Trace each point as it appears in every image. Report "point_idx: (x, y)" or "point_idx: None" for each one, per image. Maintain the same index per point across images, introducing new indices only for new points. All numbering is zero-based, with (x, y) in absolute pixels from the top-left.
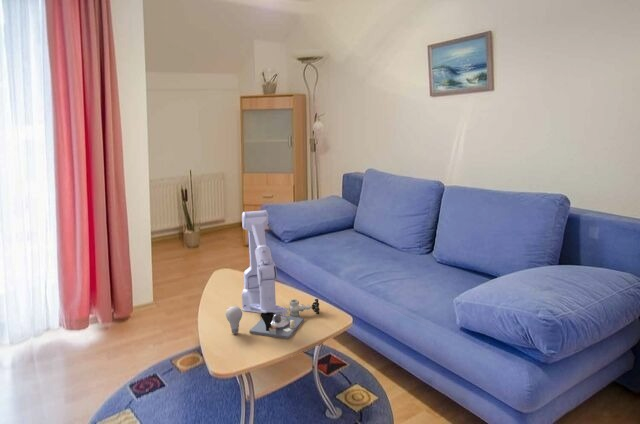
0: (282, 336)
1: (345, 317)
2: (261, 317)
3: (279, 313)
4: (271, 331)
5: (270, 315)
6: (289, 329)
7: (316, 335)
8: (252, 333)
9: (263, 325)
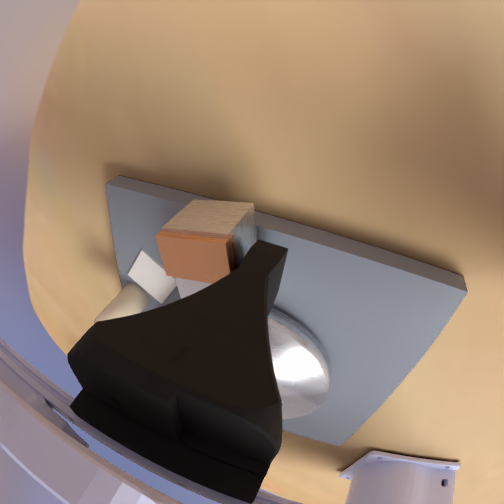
0: (152, 191)
1: (54, 340)
2: (273, 383)
3: (14, 354)
4: (217, 216)
5: (69, 355)
6: (141, 279)
7: (40, 225)
8: (439, 268)
9: (349, 356)
